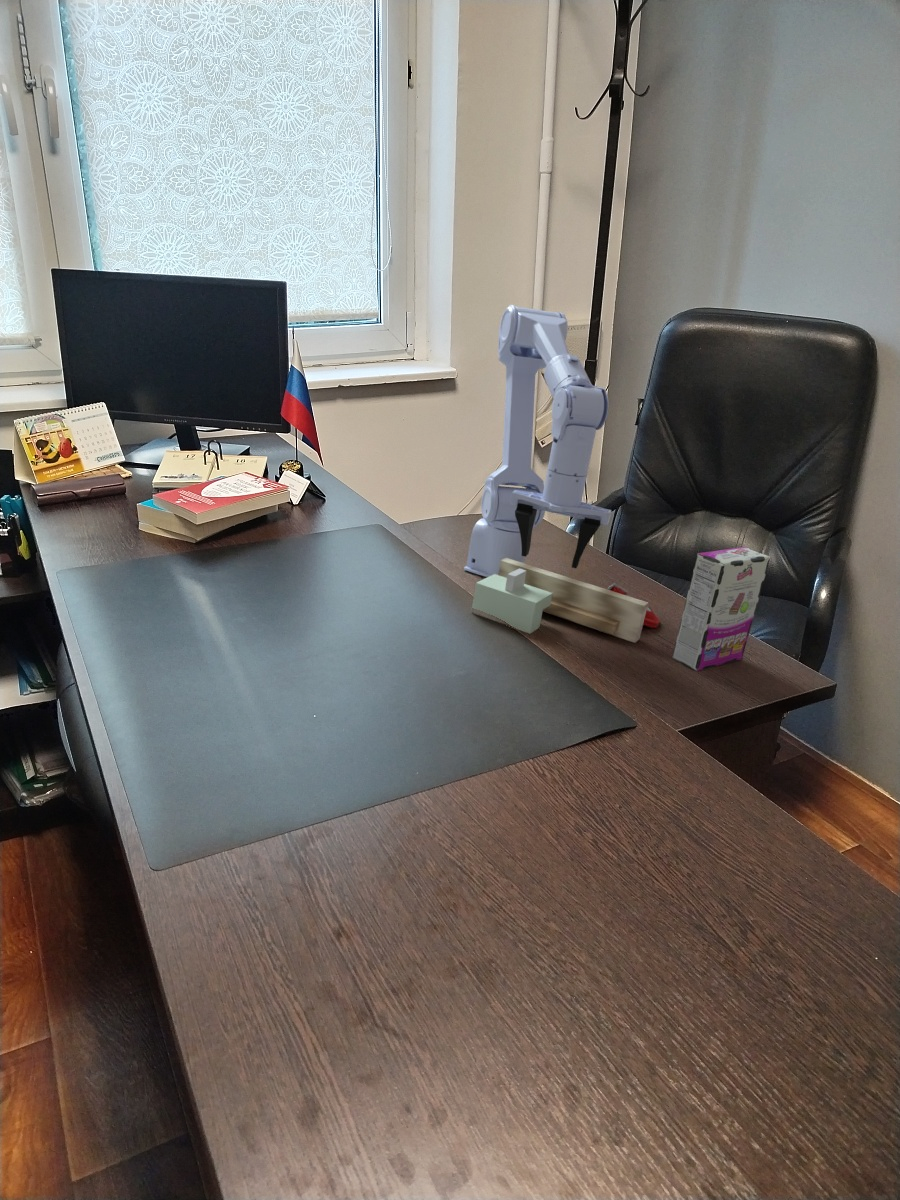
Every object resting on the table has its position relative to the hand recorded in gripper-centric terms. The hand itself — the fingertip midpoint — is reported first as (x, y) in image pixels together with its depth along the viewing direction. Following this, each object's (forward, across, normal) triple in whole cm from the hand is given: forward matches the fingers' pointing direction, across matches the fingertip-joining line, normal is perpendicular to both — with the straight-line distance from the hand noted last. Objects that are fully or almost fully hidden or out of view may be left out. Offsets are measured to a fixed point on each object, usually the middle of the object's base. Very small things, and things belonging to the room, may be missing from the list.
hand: (549, 560), depth 125 cm
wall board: (+10, +4, +4) cm, 11 cm away
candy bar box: (+10, +25, +1) cm, 27 cm away
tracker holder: (+10, +13, +11) cm, 20 cm away
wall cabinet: (+10, -4, -2) cm, 11 cm away
